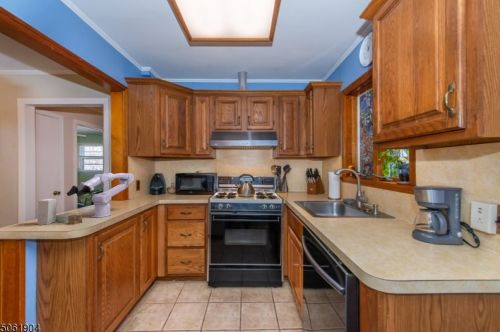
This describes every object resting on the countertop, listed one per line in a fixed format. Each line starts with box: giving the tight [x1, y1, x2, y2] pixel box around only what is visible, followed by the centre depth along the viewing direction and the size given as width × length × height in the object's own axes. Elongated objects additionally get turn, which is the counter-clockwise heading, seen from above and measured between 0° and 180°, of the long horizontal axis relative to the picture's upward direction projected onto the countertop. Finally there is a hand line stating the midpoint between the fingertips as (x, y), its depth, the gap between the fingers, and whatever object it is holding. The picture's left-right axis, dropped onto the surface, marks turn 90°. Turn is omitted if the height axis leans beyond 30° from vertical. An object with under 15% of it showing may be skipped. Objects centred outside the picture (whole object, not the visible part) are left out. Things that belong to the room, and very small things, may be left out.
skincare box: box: [37, 198, 58, 226], centre depth 149 cm, size 8×6×15 cm
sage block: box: [55, 212, 81, 223], centre depth 158 cm, size 10×10×4 cm
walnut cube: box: [67, 213, 83, 225], centre depth 150 cm, size 5×5×5 cm
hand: (72, 194), depth 150 cm, fingers open, 7 cm apart
